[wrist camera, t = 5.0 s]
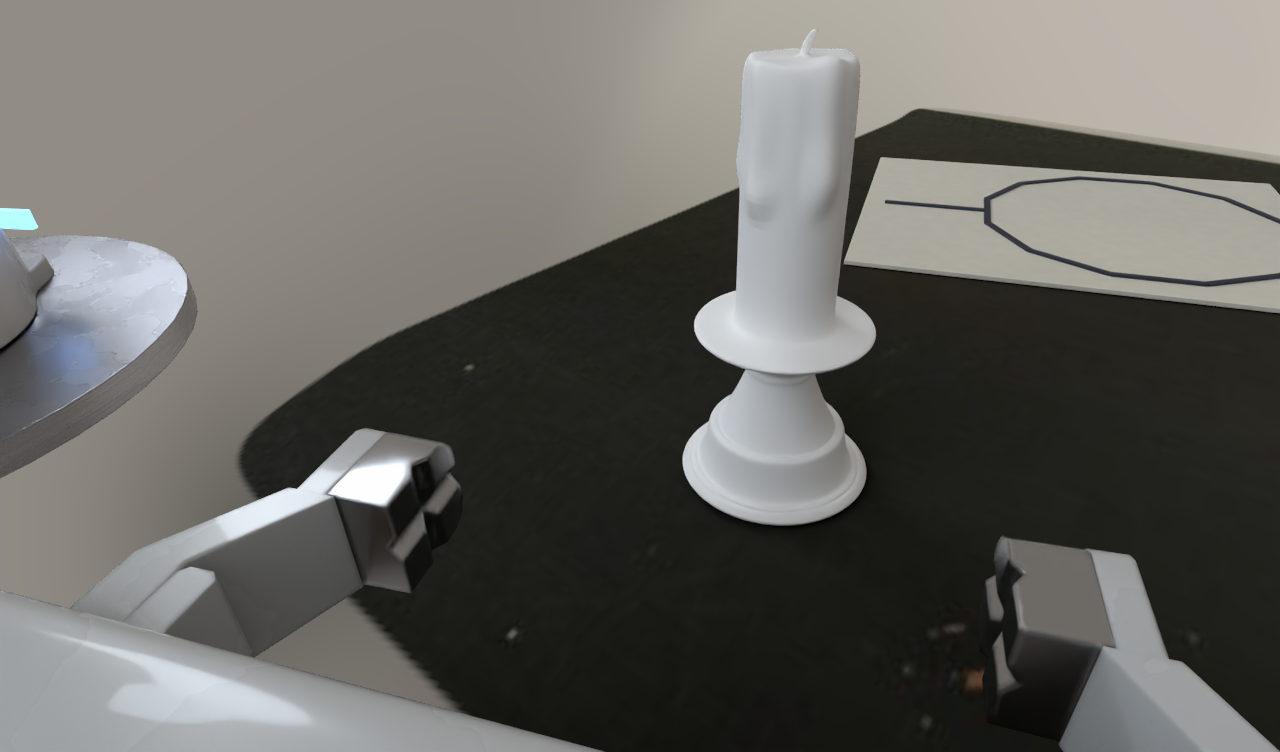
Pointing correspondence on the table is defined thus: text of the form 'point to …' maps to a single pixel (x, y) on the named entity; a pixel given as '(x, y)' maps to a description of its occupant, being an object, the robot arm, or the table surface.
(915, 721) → the table surface
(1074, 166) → the table surface
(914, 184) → the sketch sheet
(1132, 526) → the table surface
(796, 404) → the candle
